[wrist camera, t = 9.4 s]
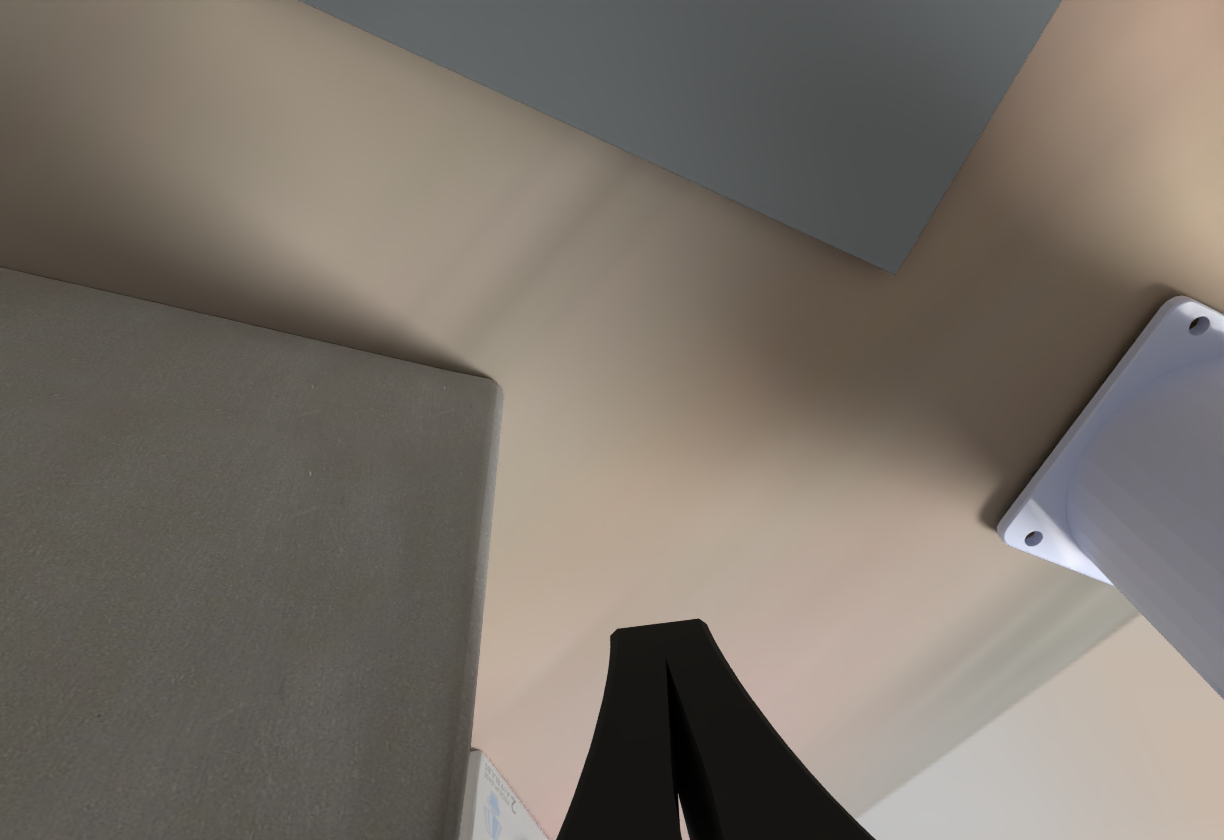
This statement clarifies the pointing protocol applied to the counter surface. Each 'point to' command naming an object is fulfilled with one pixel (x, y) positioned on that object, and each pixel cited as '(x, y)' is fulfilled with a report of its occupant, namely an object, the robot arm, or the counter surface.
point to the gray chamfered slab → (233, 577)
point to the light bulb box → (493, 806)
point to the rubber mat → (751, 91)
